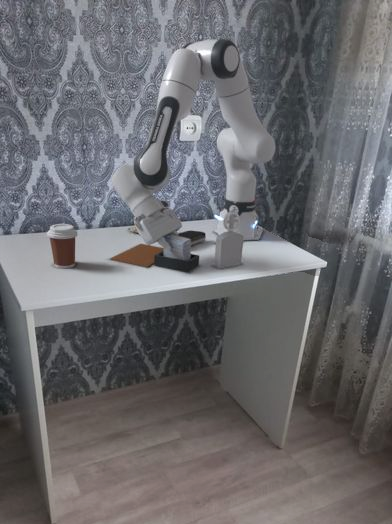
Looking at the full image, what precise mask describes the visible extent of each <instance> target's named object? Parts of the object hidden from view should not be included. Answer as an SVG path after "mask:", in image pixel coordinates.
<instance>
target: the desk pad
mask: <svg viewBox="0 0 392 524" xmlns="http://www.w3.org/2000/svg"><path fill="white" fill-rule="evenodd" d="M163 250H164V247H160V246H155V245H147V244H146V243H145V244H144V243H140V244H137V245H136V246H133V247H131V248H129V249H127V250H125V251H122V252H120V253H119V254H117V255H114V256H113V257H110V258H109V260H110V261H115V262H119V263H125V264H129V265H133V266H138V267H142V268H150V267H151V266H154V255H156V254H158V253H159V252H161V251H163Z"/></svg>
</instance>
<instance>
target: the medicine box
mask: <svg viewBox="0 0 392 524" xmlns="http://www.w3.org/2000/svg"><path fill="white" fill-rule="evenodd" d="M164 238H165V241H166V242H168V243H169V244H171V245H172V246H173V249H172V250H170V251H169V252H168V251H167V250H166V249H165V248H164V247H163V248H164V256H165V257H170V258H175V259H179V260H184V261H189V260H190V259H191V254H192V249H191V248H192V245H191V239H188V238H185V237H181V236H176V235H172V234H171V235H169V236H166V237H164Z"/></svg>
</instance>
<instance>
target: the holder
mask: <svg viewBox="0 0 392 524" xmlns="http://www.w3.org/2000/svg"><path fill="white" fill-rule="evenodd" d="M153 266H154V267H158V268H164V269H168V270H173V271H177V272H183V273H187V274H189V273H190V272H192V271H193V270H194V269H197V267H199V266H200V254H194V253H191V259H190V260H189V261H184V260H179V259H175V258H170V257H165V256H164V250H163V251H161V252H159V253H158V254H156V255H154V264H153Z"/></svg>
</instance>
